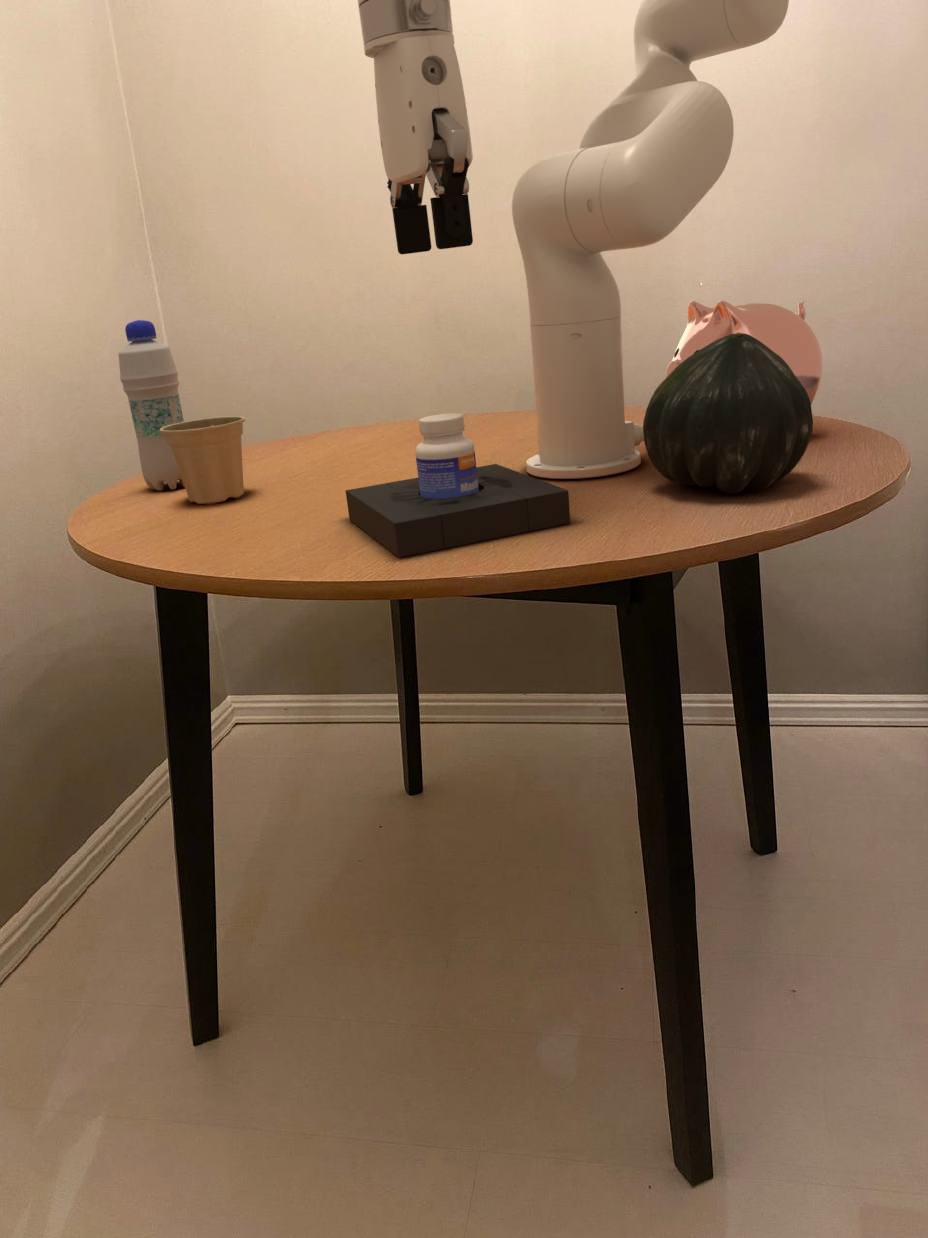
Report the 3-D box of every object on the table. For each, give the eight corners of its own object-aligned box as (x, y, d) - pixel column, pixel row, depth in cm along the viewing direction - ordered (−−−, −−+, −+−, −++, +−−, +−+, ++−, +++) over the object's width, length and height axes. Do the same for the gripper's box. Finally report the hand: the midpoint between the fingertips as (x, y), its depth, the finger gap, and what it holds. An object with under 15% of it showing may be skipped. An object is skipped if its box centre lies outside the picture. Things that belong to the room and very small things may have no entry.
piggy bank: (641, 441, 115) (637, 305, 110) (768, 420, 120) (770, 288, 114) (708, 460, 102) (706, 305, 96) (849, 436, 106) (855, 286, 100)
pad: (498, 492, 97) (496, 463, 96) (570, 523, 83) (568, 490, 82) (349, 520, 92) (345, 490, 91) (398, 558, 78) (394, 523, 77)
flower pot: (170, 498, 111) (155, 424, 108) (249, 484, 114) (236, 412, 111) (180, 513, 103) (164, 433, 100) (265, 497, 106) (252, 420, 103)
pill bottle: (475, 528, 84) (465, 419, 81) (417, 531, 85) (404, 423, 82) (486, 513, 89) (476, 409, 86) (431, 515, 90) (419, 413, 87)
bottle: (210, 480, 119) (178, 315, 112) (174, 493, 113) (139, 320, 106) (169, 480, 122) (136, 319, 115) (133, 492, 116) (95, 324, 109)
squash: (683, 410, 100) (652, 308, 88) (831, 415, 92) (820, 303, 80) (648, 523, 95) (610, 430, 83) (801, 537, 88) (784, 437, 76)
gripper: (491, -3, 71) (514, 239, 77) (413, 51, 86) (437, 249, 92) (399, 0, 69) (429, 250, 75) (335, 55, 84) (365, 259, 90)
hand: (434, 249), depth 84 cm, fingers open, 9 cm apart
